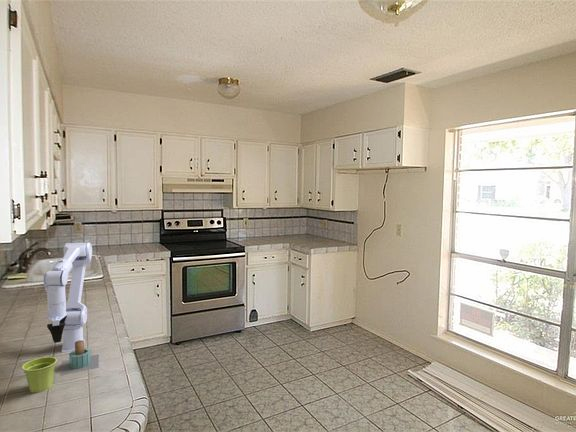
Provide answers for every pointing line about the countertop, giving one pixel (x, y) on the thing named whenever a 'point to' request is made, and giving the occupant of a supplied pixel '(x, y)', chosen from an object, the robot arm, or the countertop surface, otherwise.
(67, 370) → the grey mat
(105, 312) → the countertop surface
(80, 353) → the walnut peg
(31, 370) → the plant pot
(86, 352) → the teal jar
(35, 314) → the countertop surface
